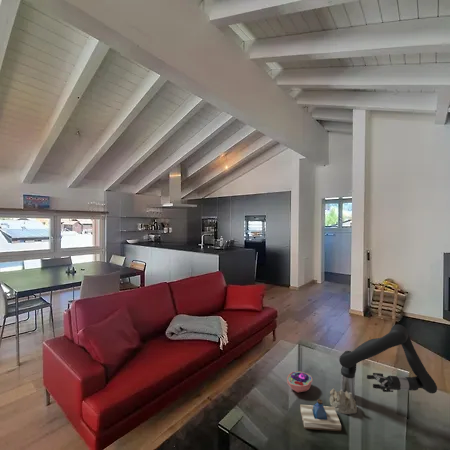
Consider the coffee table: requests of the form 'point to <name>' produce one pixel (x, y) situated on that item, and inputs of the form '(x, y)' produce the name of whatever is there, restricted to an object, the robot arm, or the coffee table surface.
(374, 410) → the coffee table surface
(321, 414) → the perfume bottle
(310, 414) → the socket plinth
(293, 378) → the cell model
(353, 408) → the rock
